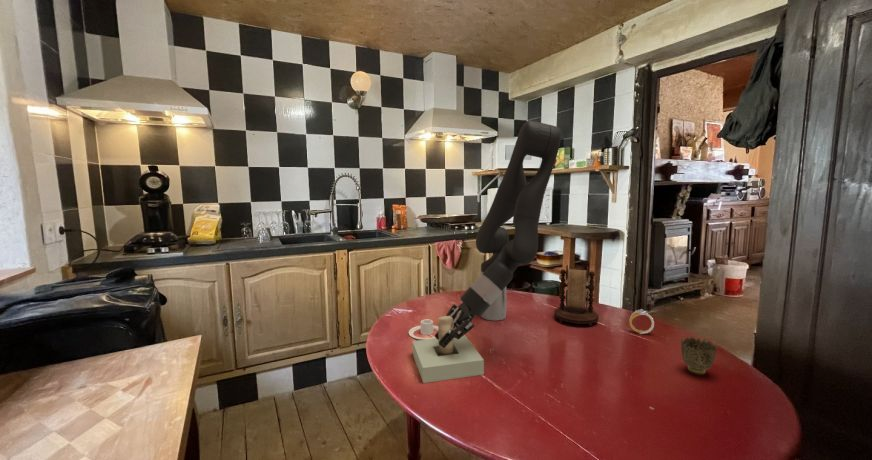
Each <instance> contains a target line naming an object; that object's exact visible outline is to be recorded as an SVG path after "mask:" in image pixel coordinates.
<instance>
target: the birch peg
mask: <svg viewBox="0 0 872 460" xmlns="http://www.w3.org/2000/svg"><path fill="white" fill-rule="evenodd" d="M452 322H453V318H452V317H450V316H446V315H444V316H438V320H437V324H438V325H437V326H438V330H437V332H438V335H439V341H440V339H441V338H442V337H443V336H444V335H445V334H446V333H448V331H449V329H450V328H451V326H452ZM445 355H453V339H452V340H451V341H450V342H449V344H448V345H447V346H446V347H445V348H443V347H442V346H440V345H439V356H445Z"/></svg>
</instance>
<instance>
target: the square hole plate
mask: <svg viewBox="0 0 872 460" xmlns="http://www.w3.org/2000/svg"><path fill="white" fill-rule="evenodd" d="M411 342H412V344H411V345H412V356H413V359H414V362H415V365H416V367H417V370H418V372H419V375H420V377H421V380H422V383H423V384H426V383H434V382H441V381H448V380H454V379H455V380H456V379H462V378H469V377H478V376H483V375H484V374H485V359H484V358H483V357H482V356H481V354H480V353H479V352H478V350H477V349H476V347H475V346H474V345H473V344H472V342H471V341H470V340H469V338H468V337H467V335H466V334H465V335H464V336H462V337H461V338H460V339H457V338H455V339H454V338H453V355H445V356H439V343H438V342H439V340H438V339H437V338H435V339H427V340H422V339H417V340H412V341H411Z"/></svg>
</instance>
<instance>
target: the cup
mask: <svg viewBox="0 0 872 460" xmlns="http://www.w3.org/2000/svg"><path fill="white" fill-rule="evenodd" d="M680 344H681V345H680V346H681V357H682V360H683V362H684V363H685V364H686V365H687V370H688V371H689V373H691V374H694V375H695V376H696V375H697V376H703V375H705V374H706V371H707V370H709V369H710V368H711V367H712V366H713V364H714V361H715V357H716V353H717V349H718V345H715V343H711V342H710V340H708V341H707V340H706V339H703V340H702V341H701V338H700V337H699V338H697V339H696V338H695V337H693V336H691V337H687V336H685V337H684V340H683V339H682V338H681V339H680Z"/></svg>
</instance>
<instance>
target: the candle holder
mask: <svg viewBox="0 0 872 460" xmlns="http://www.w3.org/2000/svg"><path fill="white" fill-rule="evenodd" d="M417 330H420V334H421V335H422V336H431V335H433V334H434V330H436V331H438V325H434V321H433V320H432V319H428V318H426V319H422V320H420V325H417V326H414V327H412V328H410V329H409V330H408V335H409V336H410V337H411V338H413V339H416V340H427V339H436V338H435V336H433V337H419V336H417V335H415V334H414V333H415V331H417Z"/></svg>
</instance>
